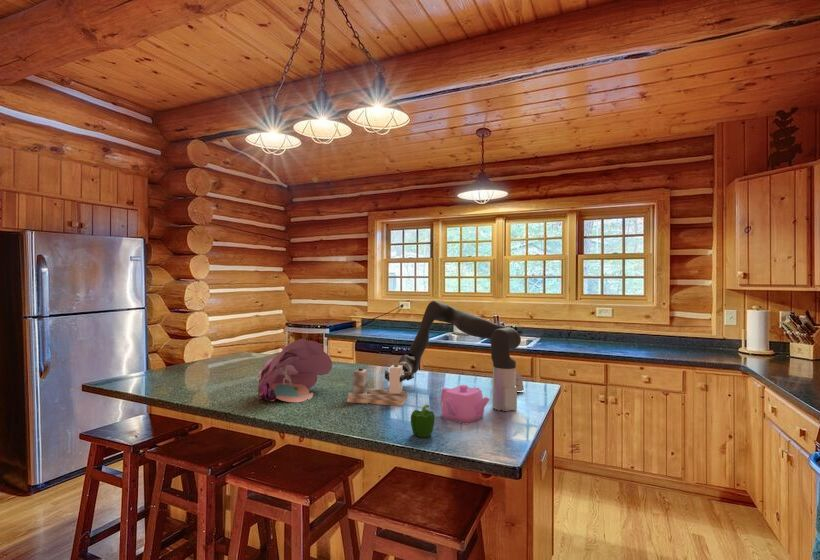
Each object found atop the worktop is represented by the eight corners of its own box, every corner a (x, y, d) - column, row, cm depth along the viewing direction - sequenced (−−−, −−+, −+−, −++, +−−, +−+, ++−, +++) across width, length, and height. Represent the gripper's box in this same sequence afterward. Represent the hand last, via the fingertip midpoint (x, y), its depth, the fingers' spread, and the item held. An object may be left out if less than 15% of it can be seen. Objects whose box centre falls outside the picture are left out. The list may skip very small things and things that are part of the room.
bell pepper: (414, 440, 141) (414, 410, 141) (407, 432, 149) (408, 403, 149) (438, 438, 143) (438, 408, 143) (430, 430, 151) (431, 401, 151)
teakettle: (478, 410, 176) (478, 380, 176) (490, 424, 159) (491, 390, 159) (437, 411, 174) (437, 380, 174) (445, 425, 157) (446, 391, 157)
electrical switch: (508, 394, 201) (507, 374, 201) (501, 392, 205) (500, 373, 206) (524, 392, 205) (523, 372, 206) (517, 391, 209) (516, 371, 210)
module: (402, 390, 190) (402, 363, 190) (399, 393, 184) (399, 365, 184) (392, 389, 190) (392, 362, 190) (389, 393, 185) (389, 365, 185)
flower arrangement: (288, 421, 174) (297, 355, 170) (239, 404, 181) (247, 340, 176) (329, 391, 208) (337, 335, 203) (286, 378, 214) (294, 323, 210)
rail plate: (407, 398, 192) (407, 367, 192) (402, 405, 180) (402, 373, 180) (355, 394, 196) (356, 365, 197) (347, 402, 185) (347, 370, 185)
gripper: (387, 362, 202) (378, 369, 186) (417, 363, 200) (411, 371, 183) (387, 378, 202) (378, 387, 186) (417, 379, 200) (410, 389, 183)
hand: (394, 379), depth 184 cm, fingers closed on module, 4 cm apart
